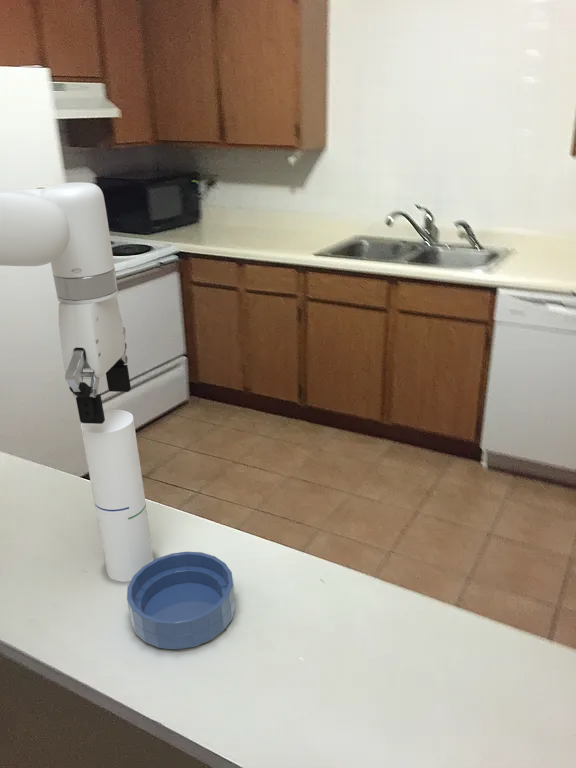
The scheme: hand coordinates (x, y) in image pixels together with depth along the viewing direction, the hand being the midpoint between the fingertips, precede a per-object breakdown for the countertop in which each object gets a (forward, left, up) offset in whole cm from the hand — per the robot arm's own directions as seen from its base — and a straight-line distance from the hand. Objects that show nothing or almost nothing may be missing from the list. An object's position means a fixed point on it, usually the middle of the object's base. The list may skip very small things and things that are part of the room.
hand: (107, 405), depth 92 cm
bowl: (+11, -9, -27) cm, 31 cm away
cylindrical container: (0, 0, -27) cm, 27 cm away
